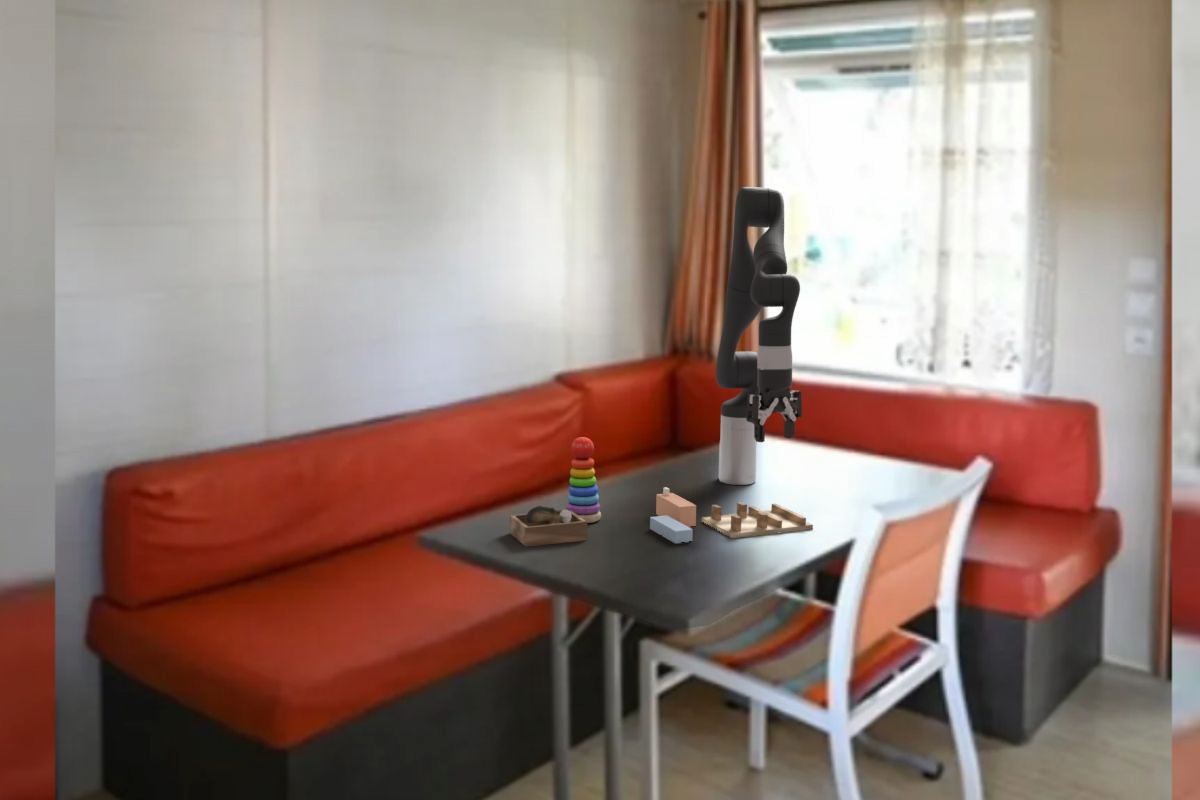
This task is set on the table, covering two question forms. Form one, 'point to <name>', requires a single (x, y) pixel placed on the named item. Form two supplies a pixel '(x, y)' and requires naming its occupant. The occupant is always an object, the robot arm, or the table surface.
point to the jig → (756, 521)
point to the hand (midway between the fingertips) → (774, 440)
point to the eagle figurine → (548, 516)
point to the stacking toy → (583, 482)
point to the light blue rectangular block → (671, 529)
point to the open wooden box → (547, 530)
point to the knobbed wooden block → (676, 508)
